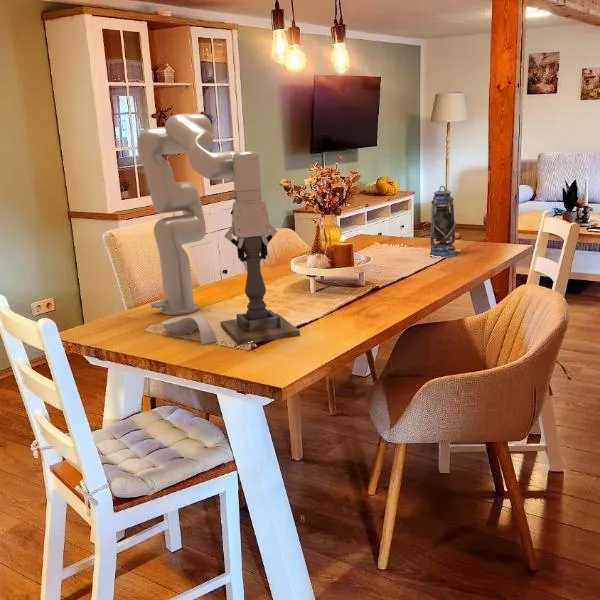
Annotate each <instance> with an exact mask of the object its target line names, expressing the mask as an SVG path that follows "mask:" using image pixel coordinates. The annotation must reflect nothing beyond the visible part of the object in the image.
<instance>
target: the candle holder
mask: <svg viewBox="0 0 600 600" xmlns="http://www.w3.org/2000/svg"><path fill="white" fill-rule="evenodd" d="M242 246H243V248H244V255H245V261H244V262H245V263H246V270H247V271H246V272H247V274H246V281H245V287H244V294H245V296H246V297H247V298H248V301H249V302H248V304H247V305H246V308H247V310H246V313H247V320H248V321H251V320H258V319H265V318H268V310H269V309H268V308H267V303H265V301H264V299H265V297H264V296H265V295H266V293H267V288H266V286H265V282H264V281H265V280H264V278H263V275H262V272H261V261H262V260H263V259H262V257H261V248H262V240H261V236H260V237H251V238H244V241H243V245H242Z"/></svg>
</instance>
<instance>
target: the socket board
mask: <svg viewBox="0 0 600 600" xmlns="http://www.w3.org/2000/svg"><path fill="white" fill-rule="evenodd" d="M267 310H268V318H265V319H258V320H251V321H248V320H247V312H243V313H237V314H236V315H235V316H236V318H235V319H229V320H222V321H220V327H221V328H222V329H223V330H224V331H225V332H226V334H227V335H230V336H231V337H232V338H231V337H230V336H229V337H230V338H231V339H232V340H233V342H235V343H236V344H237V345H238V346H241V344H242V345H245V344H244V343H248V342H251V341H256V342H255V343H261V342H267V341H273V340H279V339H280V340H281V339H285V338H286V339H287V338H292V337H299V336H301V330H300V329H298V328H297V327H296V326H295V325H293V324H292V323H291V322H289V320H287V319H286V318H284V317H283V316H281V315H280V314H279V313H275V312H273V311H272V309H267Z"/></svg>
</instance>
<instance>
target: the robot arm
mask: <svg viewBox="0 0 600 600" xmlns="http://www.w3.org/2000/svg"><path fill="white" fill-rule="evenodd" d="M212 132H213V126H212V122H211V120H210V119H209V118H208V117H207V116H206V115H205V114H203V113H199V112H198V113H177V114H172V115H170V117H168V119H167V120H166V122H165V124H164V126H159V127H150V128H147V129H145V130H143V131H141V133H140V134H139V136H138V138H137V142H136V145H137V146H136V147H137V153H138V156H139V159H140V162H141V165H142V166H143V169H144V171H145V174H146V179H147V184H148V190H149V192H150V194H149V195H150V197H151V202H152V206H153V208H154V210H155V211H156V212H157V213H159V214H168V213H169V214H170V213H177V212H182V215H181V214H180V215H172V216H167V217H163V218H160V219H158V220H157V221H156V222H155V224H154V227H153V235H154V238H155V242H156V244H157V249H158V256H159V262H160V268H161V269H160V270H161V277H162V278H161V280H162V287H163V296H164V297H162V299H160V301H151V302H150V308H151V309H155V308H156V309H160V313H161V314H163V315H168V316H179V315H187V314H191V313H194V312H196V311H198V310H199V309H200V305H199V304H198V303H195V302H194V294H193V293H194V292H193V281H192V272H191V262H190V261H191V260H190V256H189V255H188V253H187V251H186V250H185V249H184V247H182V245H185V244H191V243H196V242H201V241H202V240H203V239H204V238H205V237H206V236H205V235H206V231H207V230H206V229H207V228H206V222H205V217H204V211H203V205H202V201H201V197H200V193H199V191H198V189H197V187H196V186H195V184H193V183H192V182H190V181H179V182H177V181H176V180H175V177H174V171H173V168H172V167H171V165H170V163H169V162H168V161H167V160H166V159H165V158H164V157H163V156H162V155H172V154H173V155H174V154H186V153H187V155H188V156H187V157H188V161H189V164H190V166H191V168H192V169H193V170H194V171H195V172H197V173H198V174H199V175H200V176H202V177H203V178H205V179H208V180H211V181H214V180H216V181H217V180H223V179H233V189H234V190H233V192H232V193H229V199H231V200H232V199H233V200H234V202H233V203H232V210H231V227H230V228H229V229H228V231H227V232H226V233H225V235H224V238H225V239H227V240H228V241H229V242H230V243H231V244H232V245H234V246H235V247H237V250H236V251H237V258H238V260H239V261H240V262H242V263H243V262H246V261H245V257H246V255H245V252H244V248H243V246H242V245H243V241H244V238H251V237H260V236H261V240H262V248H261V251H260V256H261V257H262V260H266V259H267V256H268V245H269V243H270V242H271V240H272V239H273V237H275V236H276V234H277V233H278V230H277V229H276V228H275V227H274V226H273V225H272V224H271V223H270V219H269V211H268V208H267V206H268V205H267V203H266V200H265V199H263V196H262V195H263V194H262V184H261V183H262V182H261V180H262V179H261V168H260V167H261V165H260V157H259V156H260V155H259V154H258V152H257V151H254V150H252V151H251V150H250V151H249V150H248V151H247V150H246V151H241V150H232V151H231V150H229V151H215V152H210V151H211V150H212V148H213V145H214V138H213V135H212V134H213V133H212ZM233 236H234V237H236V239H235V238H234V237H233Z"/></svg>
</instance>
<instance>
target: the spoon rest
mask: <svg viewBox="0 0 600 600" xmlns="http://www.w3.org/2000/svg"><path fill="white" fill-rule="evenodd" d="M161 325H162V327H163V328H164V330H166V331H168V332H170V333H172V334H173V333H174V334H173V335H177V334H183V335H188V334H187V333H189V334H192V333H193V332H195V330H197V329H199V335H200V337H199V338H200V345H201V346H203V345H208V344H209V345H210V344H212V343H216V342H217V338H216V334H215V331H214V329H213V327H212V325H211V323H210V322H209V321H208V319H207V318H206V317H205V316H204V315H203V314H198V315H183V316H178V317H174V318H170V319H166V320H163V321H162V322H161ZM191 332H192V333H191Z"/></svg>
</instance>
